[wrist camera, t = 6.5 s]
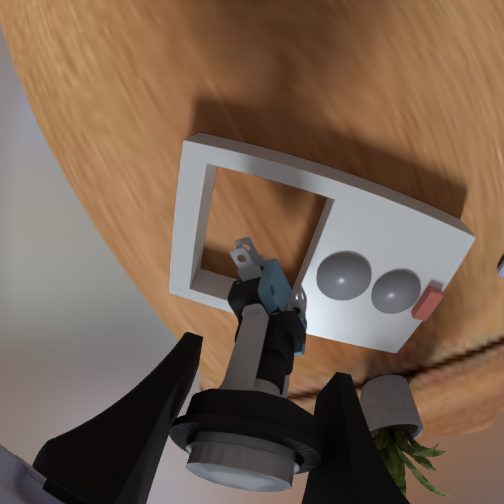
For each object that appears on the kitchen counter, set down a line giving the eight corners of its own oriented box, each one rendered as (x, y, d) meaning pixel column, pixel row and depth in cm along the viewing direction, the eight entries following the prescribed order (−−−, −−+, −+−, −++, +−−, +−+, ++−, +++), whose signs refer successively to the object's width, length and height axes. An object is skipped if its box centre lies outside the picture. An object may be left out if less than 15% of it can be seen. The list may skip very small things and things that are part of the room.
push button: (200, 248, 15) (99, 419, 7) (297, 214, 13) (260, 435, 5) (255, 336, 18) (213, 490, 9) (339, 317, 16) (334, 495, 7)
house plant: (283, 395, 30) (257, 532, 16) (368, 326, 22) (376, 529, 9) (373, 423, 31) (370, 535, 18) (457, 369, 24) (481, 506, 10)
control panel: (460, 219, 16) (480, 242, 13) (391, 331, 22) (397, 359, 20) (199, 132, 17) (179, 142, 14) (181, 272, 23) (165, 297, 20)
